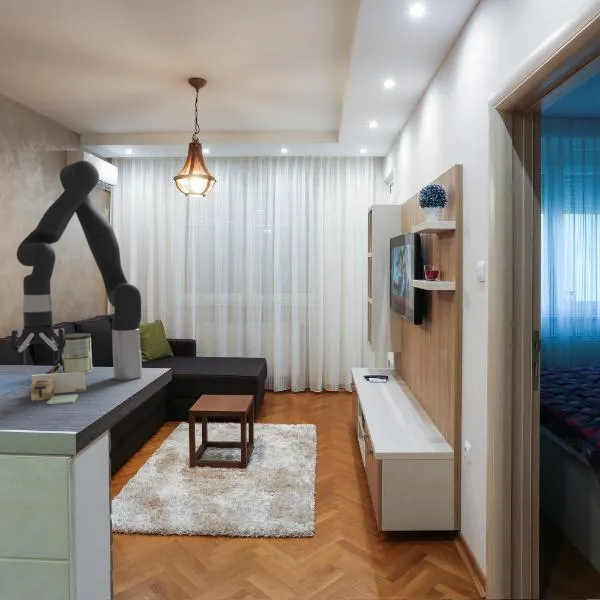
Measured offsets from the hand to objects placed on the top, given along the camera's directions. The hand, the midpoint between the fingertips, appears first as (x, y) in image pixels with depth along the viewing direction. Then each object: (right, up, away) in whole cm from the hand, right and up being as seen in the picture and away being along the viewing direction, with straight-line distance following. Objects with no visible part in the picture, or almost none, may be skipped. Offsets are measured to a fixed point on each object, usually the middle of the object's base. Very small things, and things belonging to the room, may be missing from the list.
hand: (39, 363), depth 141 cm
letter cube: (+1, -11, +1) cm, 11 cm away
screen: (+3, -10, +6) cm, 12 cm away
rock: (-4, -10, +13) cm, 17 cm away
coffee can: (-5, -8, +35) cm, 37 cm away
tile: (+8, -11, -2) cm, 14 cm away
